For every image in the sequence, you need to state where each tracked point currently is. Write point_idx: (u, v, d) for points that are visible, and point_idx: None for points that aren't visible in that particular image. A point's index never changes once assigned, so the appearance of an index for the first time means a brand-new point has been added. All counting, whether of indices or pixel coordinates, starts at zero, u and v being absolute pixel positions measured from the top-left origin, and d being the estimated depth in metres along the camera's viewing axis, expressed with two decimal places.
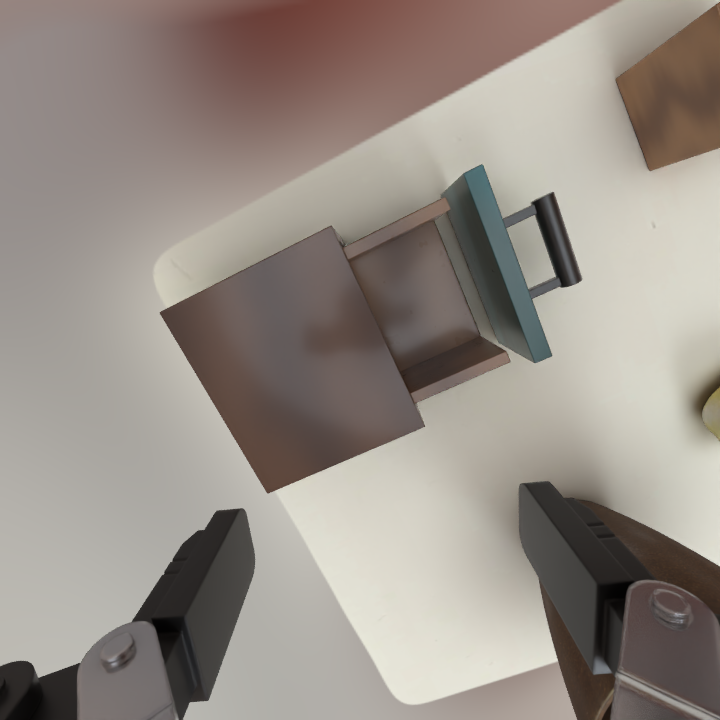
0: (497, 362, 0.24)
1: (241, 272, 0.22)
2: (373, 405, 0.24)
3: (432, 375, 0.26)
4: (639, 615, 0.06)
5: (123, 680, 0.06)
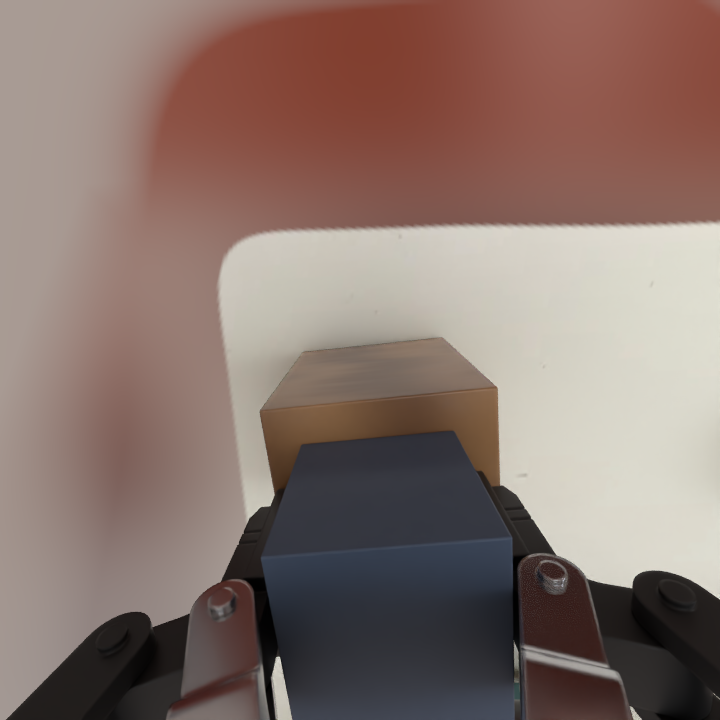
0: None
1: None
2: None
3: None
4: (523, 582, 0.07)
5: (223, 631, 0.07)
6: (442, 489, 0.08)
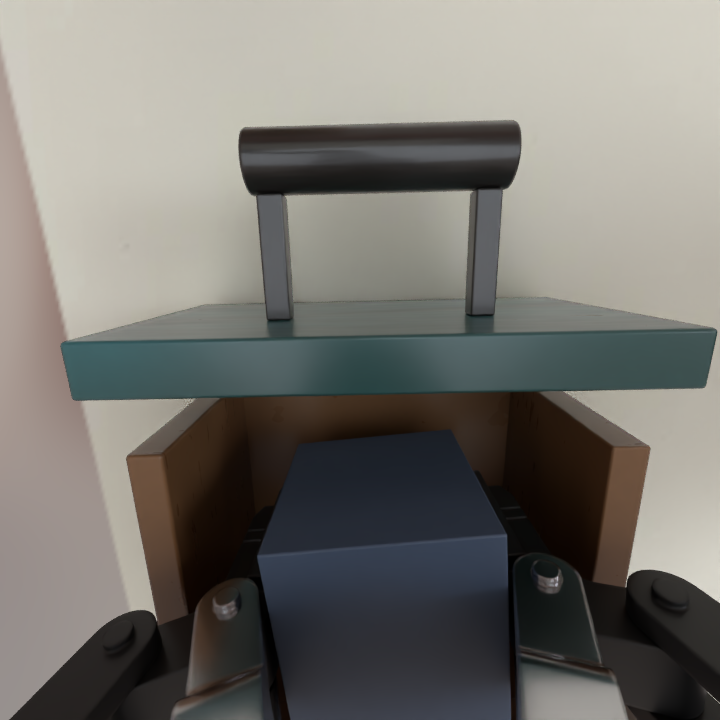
0: (630, 480, 0.08)
1: None
2: None
3: None
4: (518, 581, 0.07)
5: (227, 629, 0.07)
6: (438, 488, 0.08)
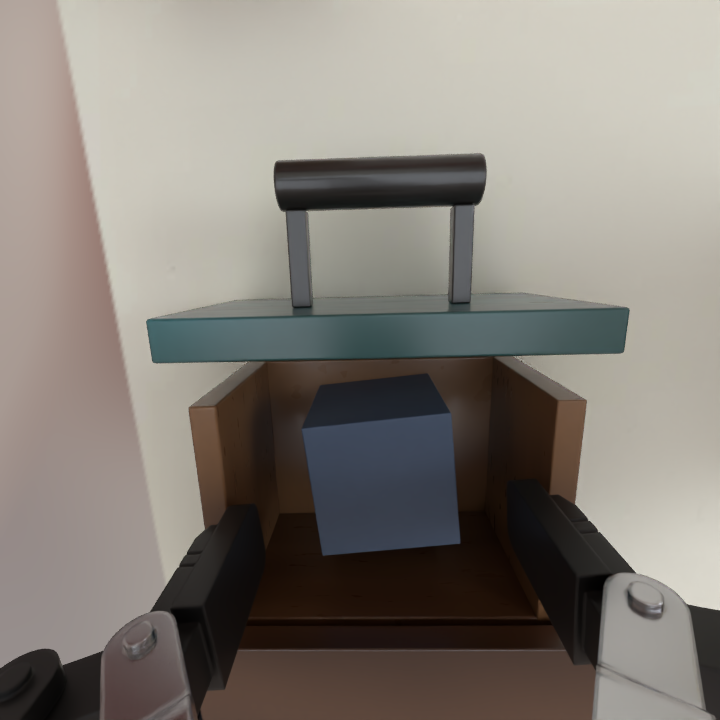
0: (572, 427, 0.10)
1: None
2: (525, 714, 0.11)
3: None
4: (615, 606, 0.06)
5: (144, 667, 0.06)
6: (414, 398, 0.13)
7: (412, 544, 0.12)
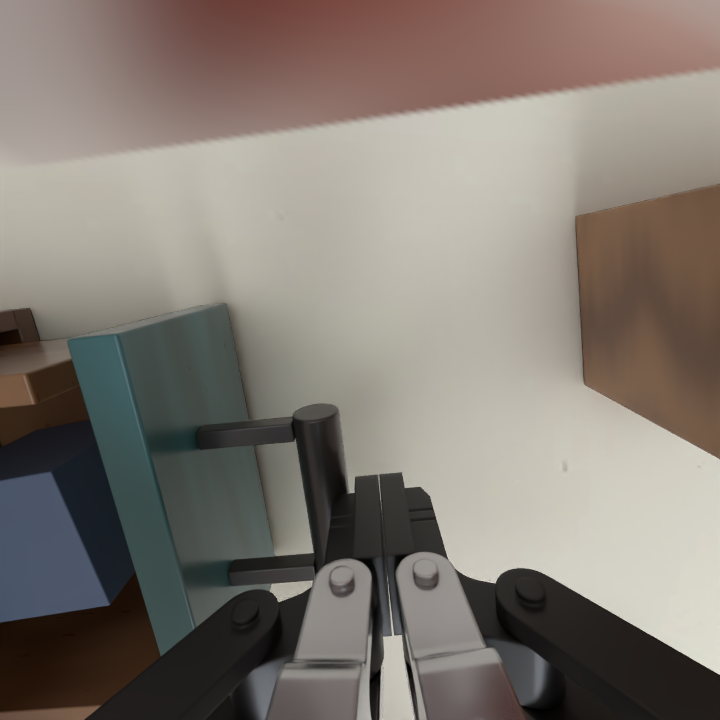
0: None
1: None
2: None
3: (17, 668, 0.13)
4: (398, 579, 0.08)
5: (338, 608, 0.07)
6: None
7: None
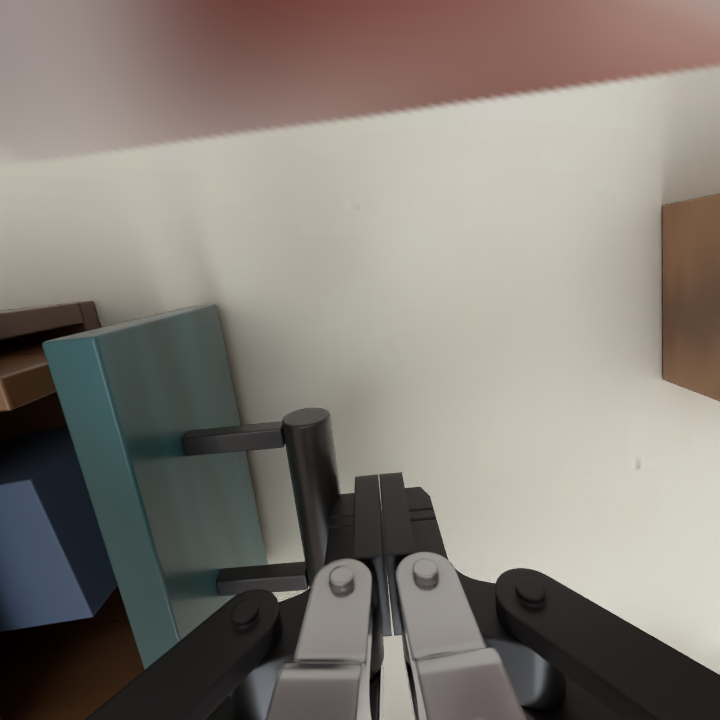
0: None
1: None
2: None
3: None
4: (398, 579, 0.08)
5: (338, 608, 0.07)
6: None
7: None
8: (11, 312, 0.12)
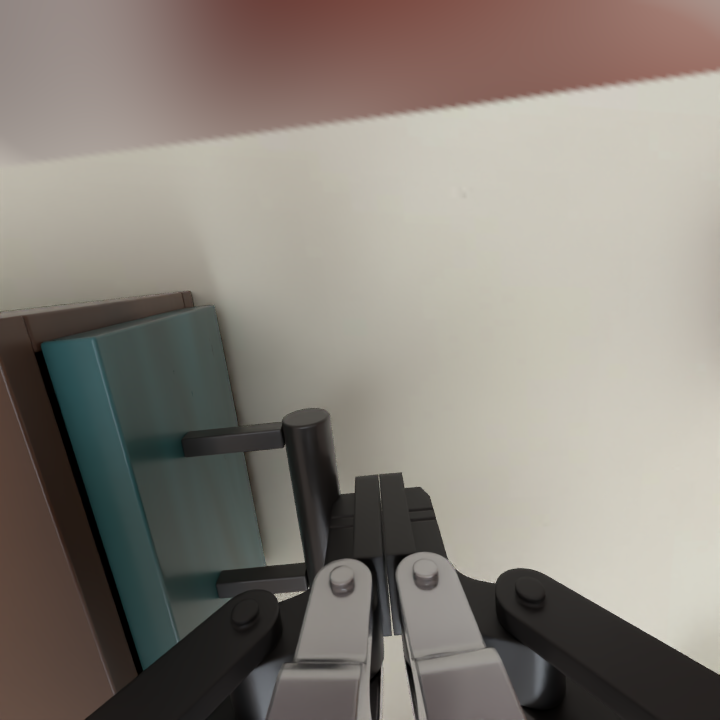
0: None
1: None
2: None
3: None
4: (398, 579, 0.08)
5: (338, 608, 0.07)
6: None
7: None
8: (138, 299, 0.12)
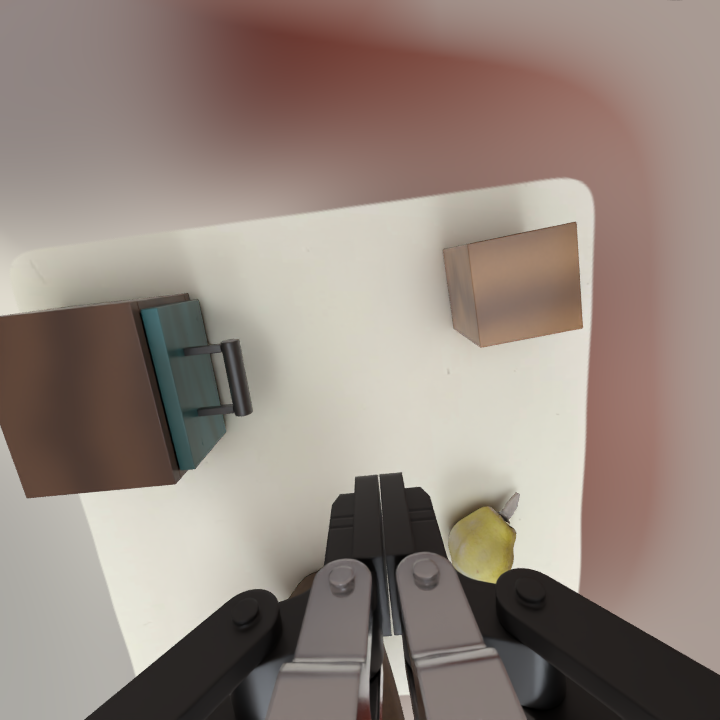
0: None
1: (43, 313, 0.25)
2: (135, 454, 0.28)
3: None
4: (398, 579, 0.08)
5: (338, 608, 0.07)
6: None
7: None
8: (166, 296, 0.30)
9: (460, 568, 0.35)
